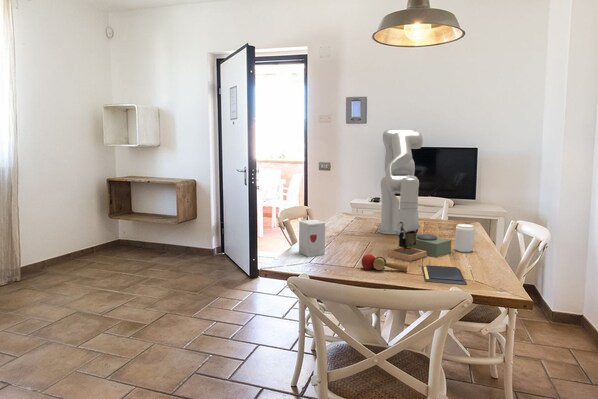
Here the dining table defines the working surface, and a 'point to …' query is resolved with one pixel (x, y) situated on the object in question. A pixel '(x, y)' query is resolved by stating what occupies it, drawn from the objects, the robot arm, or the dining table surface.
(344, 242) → the dining table surface
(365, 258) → the kendama
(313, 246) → the supplement box
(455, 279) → the wallet
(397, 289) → the dining table surface
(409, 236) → the dark bronze domed piece
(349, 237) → the dining table surface
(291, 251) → the dining table surface
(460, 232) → the beverage can
